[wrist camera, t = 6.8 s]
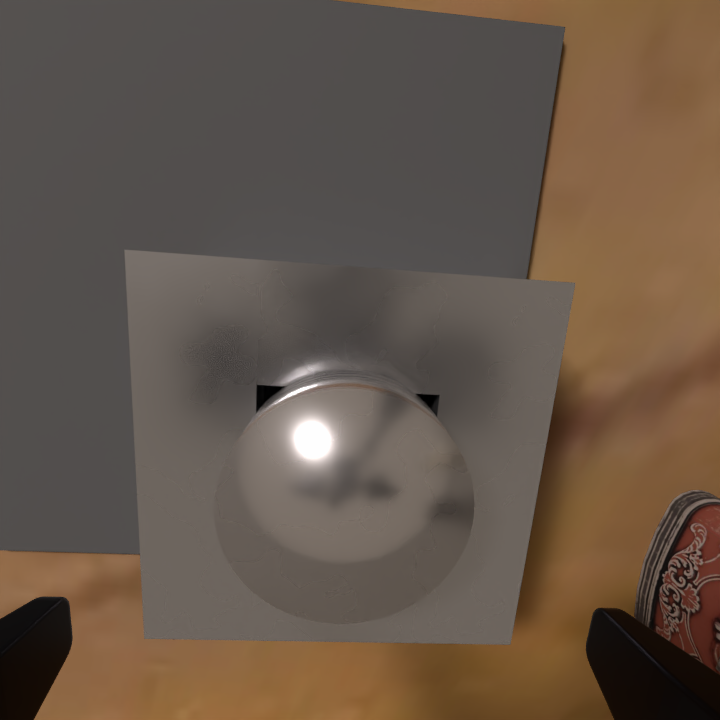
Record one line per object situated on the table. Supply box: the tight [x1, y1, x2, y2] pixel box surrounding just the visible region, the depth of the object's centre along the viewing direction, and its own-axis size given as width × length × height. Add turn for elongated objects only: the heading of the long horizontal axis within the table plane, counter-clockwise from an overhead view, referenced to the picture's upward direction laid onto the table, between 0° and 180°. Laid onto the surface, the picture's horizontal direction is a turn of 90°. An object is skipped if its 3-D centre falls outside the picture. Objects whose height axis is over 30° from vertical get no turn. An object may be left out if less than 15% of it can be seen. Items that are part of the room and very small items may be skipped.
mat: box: [0, 0, 565, 554], centre depth 15 cm, size 22×22×1 cm
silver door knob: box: [214, 370, 475, 624], centre depth 13 cm, size 6×6×6 cm
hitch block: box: [124, 250, 575, 645], centre depth 14 cm, size 12×12×5 cm
